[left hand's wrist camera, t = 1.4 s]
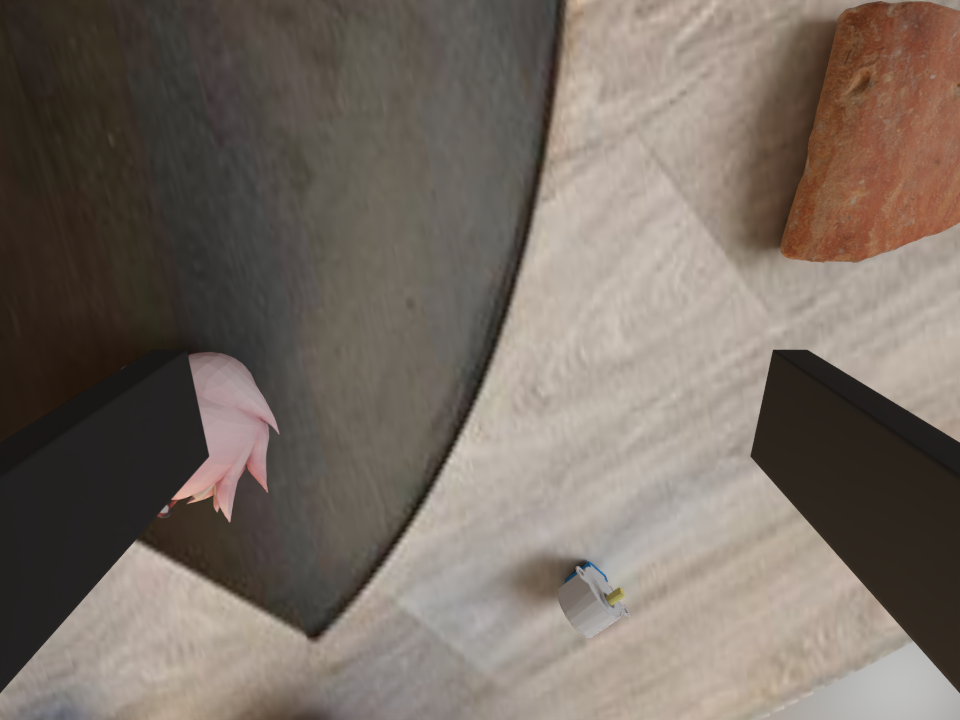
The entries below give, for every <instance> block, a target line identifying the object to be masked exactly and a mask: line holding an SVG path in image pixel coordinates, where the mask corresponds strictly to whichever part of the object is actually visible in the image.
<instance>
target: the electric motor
mask: <svg viewBox="0 0 960 720" xmlns="http://www.w3.org/2000/svg"><path fill="white" fill-rule="evenodd" d="M575 569H576V572H574V573H573V574H572V575H570V576H569V577H568V578H566V581H565V583H564V585H562V586H561V587H560V588H559V589H558V599H559V603H560V606H561V608H562V610H563V612H564V614H565V616H566V617H567V619H568V620H569V622H570V623H571V625H572V626H573V627H574V628H575V629H576V630H577V631H578V632H579V633H580V634H582V635H583V636H585V637H588V638H591V637H593V636H595V635H596V634H598V633H599V632H600V631H602V630H603V629H605V628H606V627H608V626H609V625H611V624H612V623H613V622H615V621H616V620H618V619H619V618H621V616H622V614H624V615H625V616H626V617H629V616H630V614H629V611H628V610H627V608H626V607H625V606H624V605H623V604H622V603H621V602H620V601H619V600H620V599H622V598H623V597H624V596H625V594H624V591H623V590H622V588H620V587H619V588H618V589H616V590H615V591H613V589H612V588H611V586H610V585H609V584H608V583H607V582H608V581H607V578H606V576H605V574H603V573H602V572H601V571H600V570H599V569H598V568H596V567H595V566H594V565H593V564H592V563H591V562H588V563H586V564H585V565H584V566H582V567H581V568H580V567H579V566H577V567H575ZM623 608H624V609H625V611H626V612H625V611H624V609H623Z"/></svg>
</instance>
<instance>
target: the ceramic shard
mask: <svg viewBox="0 0 960 720" xmlns="http://www.w3.org/2000/svg"><path fill="white" fill-rule="evenodd" d="M958 223H960V11H958V10H955V9H951V8H948V7H944V6H940V5H937V4H934V3H931V2H901V3H886V2H882V1H879V2H872V3H867V4H863V5H860V6H857V7H855V8H850V9H846V10H845V11H844V12H843V13H842V14H841V15H840V16H839V18H838V21H837V26H836V31H835V36H834V40H833V45H832V49H831V54H830V58H829V62H828V67H827V71H826V75H825V79H824V83H823V87H822V91H821V96H820V100H819V103H818V107H817V111H816V116H815V120H814V126H813V130H812V132H811V135H810V137H809V142H808V155H807V160H806V165H805V169H804V173H803V176H802V178H801V180H800V182H799V184H798V187H797V191H796V194H795V197H794V200H793V203H792V206H791V210H790V213H789V217H788V220H787V224H786V227H785V230H784V233H783V237H782V241H781V247H780V248H781V252H782V254H783V255H784V257H786V258H789V259H798V260H807V261H811V262H827V261H846V262H853V263H854V262H859V261H862V260H864V259H866V258H870V257H873V256H876V255H878V254H881V253H884V252H888V251H892V250H895V249H897V248H899V247H901V246H903V245H905V244H908V243H910V242H913V241H916V240H919V239H921V238H923V237H926V236H931V235H935V234H938V233H940V232H942V231H944V230H947V229H949V228H950V227H952V226H954V225H956V224H958Z"/></svg>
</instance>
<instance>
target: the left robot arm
mask: <svg viewBox="0 0 960 720" xmlns="http://www.w3.org/2000/svg"><path fill="white" fill-rule="evenodd" d="M208 458H209V452H208V447H207V442H206V438H205V433H204V428H203V424H202V419H201V414H200V409H199V405H198V400H197V395H196V390H195V386H194V381H193V376H192V372H191V367H190V362H189V357H188V353H187V350H152V351H150V352H148V353H147V354H145V355H143V356H142V357H140V358H138V359H137V360H135V361H134V362H132V363H130V364H129V365H127V366H125V367H124V368H122V369H120V370H119V371H117V372H115V373H114V374H112V375H111V376H109V377H107V378H106V379H104V380H102V381H101V382H99V383H97V384H96V385H94V386H92V387H91V388H89V389H88V390H86V391H84V392H83V393H81V394H79V395H78V396H76V397H74V398H73V399H71V400H69V401H68V402H66V403H65V404H63V405H61V406H60V407H58V408H56V409H55V410H53V411H51V412H50V413H48V414H46V415H45V416H43V417H42V418H40V419H38V420H37V421H35V422H33V423H32V424H30V425H28V426H27V427H25V428H23V429H22V430H20V431H19V432H17V433H15V434H14V435H12V436H10V437H9V438H7V439H5V440H4V441H2V442H0V693H1V692H2V691H3V689H4V688H5V687H6V686H7V685H8V684H9V683H10V681H11V680H12V679H13V678H14V677H15V676H16V675H17V674H18V672H19V671H20V670H21V669H22V668H23V667H24V666H25V665H26V663H27V662H28V661H29V660H30V659H31V658H32V657H33V655H34V654H35V653H36V652H37V651H38V650H39V649H40V648H41V646H42V645H43V644H44V643H45V642H46V641H47V640H48V639H49V637H50V636H51V635H52V634H53V633H54V632H55V631H56V629H57V628H58V627H59V626H60V625H61V624H62V623H63V622H64V620H65V619H66V618H67V617H68V616H69V615H70V614H71V613H72V611H73V610H74V609H75V608H76V607H77V606H78V605H79V603H80V602H81V601H82V600H83V599H84V598H85V597H86V596H87V594H88V593H89V592H90V591H91V590H92V589H93V588H94V587H95V585H96V584H97V583H98V582H99V581H100V580H101V579H102V577H103V576H104V575H105V574H106V573H107V572H108V571H109V570H110V568H111V567H112V566H113V565H114V564H115V563H116V562H117V560H118V559H119V558H120V557H121V556H122V555H123V554H124V553H125V551H126V550H127V549H128V548H129V547H130V546H131V545H132V544H133V542H134V541H135V540H136V539H137V538H138V537H139V536H140V534H141V533H142V532H143V531H144V530H145V529H146V528H147V527H148V525H149V524H150V523H151V522H152V521H153V520H154V519H155V518H156V516H157V515H158V514H159V513H160V512H161V511H162V510H163V508H164V507H165V506H166V505H167V504H168V503H169V502H170V501H171V499H172V498H173V497H174V496H175V495H176V494H177V493H178V492H179V490H180V489H181V488H182V487H183V486H184V485H185V484H186V482H187V481H188V480H189V479H190V478H191V477H192V476H193V475H194V473H195V472H196V471H197V470H198V469H199V468H200V467H201V465H202V464H203V463H204V462H205V461H206V460H207V459H208ZM751 458H752V459H753V460H754V461H755V462H756V463H757V464H758V465H759V467H760V468H761V469H762V470H763V471H764V472H765V473H766V475H767V476H768V477H769V478H770V479H771V480H772V481H773V482H774V484H775V485H776V486H777V487H778V488H779V489H780V490H781V492H782V493H783V494H784V495H785V496H786V497H787V498H788V499H789V501H790V502H791V503H792V504H793V505H794V506H795V507H796V508H797V510H798V511H799V512H800V513H801V514H802V515H803V516H804V518H805V519H806V520H807V521H808V522H809V523H810V524H811V525H812V527H813V528H814V529H815V530H816V531H817V532H818V533H819V534H820V536H821V537H822V538H823V539H824V540H825V541H826V542H827V544H828V545H829V546H830V547H831V548H832V549H833V550H834V551H835V553H836V554H837V555H838V556H839V557H840V558H841V559H842V560H843V562H844V563H845V564H846V565H847V566H848V567H849V568H850V570H851V571H852V572H853V573H854V574H855V575H856V576H857V577H858V579H859V580H860V581H861V582H862V583H863V584H864V585H865V587H866V588H867V589H868V590H869V591H870V592H871V593H872V594H873V596H874V597H875V598H876V599H877V600H878V601H879V602H880V603H881V605H882V606H883V607H884V608H885V609H886V610H887V611H888V613H889V614H890V615H891V616H892V617H893V618H894V619H895V620H896V622H897V623H898V624H899V625H900V626H901V627H902V628H903V629H904V631H905V632H906V633H907V634H908V635H909V636H910V637H911V639H912V640H913V641H914V642H915V643H916V644H917V645H918V646H919V648H920V649H921V650H922V651H923V652H924V653H925V654H926V655H927V657H928V658H929V659H930V660H931V661H932V662H933V663H934V665H935V666H936V667H937V668H938V669H939V670H940V671H941V672H942V674H943V675H944V676H945V677H946V678H947V679H948V680H949V681H950V683H951V684H952V685H953V686H954V687H955V688H956V689H957V691H958V692H959V693H960V442H958V441H956V440H955V439H953V438H951V437H950V436H948V435H946V434H945V433H943V432H941V431H940V430H938V429H937V428H935V427H933V426H932V425H930V424H928V423H927V422H925V421H923V420H922V419H920V418H918V417H917V416H915V415H914V414H912V413H910V412H909V411H907V410H905V409H904V408H902V407H900V406H899V405H897V404H895V403H894V402H892V401H891V400H889V399H887V398H886V397H884V396H882V395H881V394H879V393H877V392H876V391H874V390H872V389H871V388H869V387H868V386H866V385H864V384H863V383H861V382H859V381H858V380H856V379H854V378H853V377H851V376H849V375H848V374H846V373H845V372H843V371H841V370H840V369H838V368H836V367H835V366H833V365H831V364H830V363H828V362H826V361H825V360H823V359H822V358H820V357H818V356H817V355H815V354H813V353H812V352H810V351H808V350H773V353H772V357H771V362H770V367H769V372H768V376H767V381H766V386H765V390H764V395H763V400H762V405H761V409H760V414H759V419H758V424H757V428H756V433H755V438H754V442H753V447H752V452H751Z"/></svg>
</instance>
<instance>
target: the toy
mask: <svg viewBox="0 0 960 720" xmlns="http://www.w3.org/2000/svg"><path fill="white" fill-rule="evenodd" d="M188 357H189V362H190V367H191V372H192V376H193V381H194V386H195V390H196V395H197V400H198V405H199V409H200V414H201V419H202V424H203V428H204V433H205V438H206V442H207V447H208V452H209V458H208V459H207V460H206V461H205V462H204V463H203V464H202V465H201V467H200V468H199V469H198V470H197V471H196V472H195V473H194V475H193V476H192V477H191V478H190V479H189V480H188V481H187V482H186V484H185V485H184V486H183V487H182V488H181V489H180V490H179V492H178V493H177V494H176V495H175V496H174V497H173V498H172V499H171V500H173V501H172V503H171V504H170V505H169V504H167V505H166V506H165V507H164V508H163V510H162V511H161V512H160V513H159V514H158V515H157V516H158V517H160V518H166V517H169V516H170V515H171V513H172V511H173V510H172V508H171V507H172V506H173V505H174V504H175V503H176V502H177V500H179V499H182V498H185V497H188V496H191V495H192V497H191V498H190V500H189V501H188V502H187V504H188V503H192V502H196V501H199V500H203V499H206V498H208V497H210V496H212V495H214V508H215V510H216V511H217V512H218V509H219V507H220V508H221V510H222V511H223V513H224V515H225V516H226V517H227V519H228V520H229V522H230V519H231V512H232V506H233V500H234V495H235V490H236V486H237V481H238V479H239V478H240V476H241V474H242V473H243V471H244V469H245V468H246V466H247V467H248V469H249V471H250V472H251V474H252V475H253V476H254V477H255V478H256V480H257V481H258V482H259V483H260V484H261V485H262V486H263V487H264V489H265V490H266V491H267V492H268V490H267V485H266V452H267V446H268V440H269V427H268V423H269V424H270V425H271V426H272V427H273V428H274V429H275V430H276V431H277V432H278V434H279V431H278V427H277V424H276V421H275V418H274V416H273V414H272V412H271V410H270V408H269V406H268V404H267V402H266V401H265V399H264V397H263V396H262V394H261V393H260V391H259V389H258V388H257V386H256V384H255V382H254V379H253V377H252V375H251V373H250V372H249V371H248V369H247V368H246V367H245V366H244V365H243V364H242V363H241V362H239V361H238V360H237V359H235V358H233V357H231V356H228V355H225V354H223V353H216V352H202V353H194V354H190V355H188ZM123 368H124V367H123ZM121 369H122V368H121Z"/></svg>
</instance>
